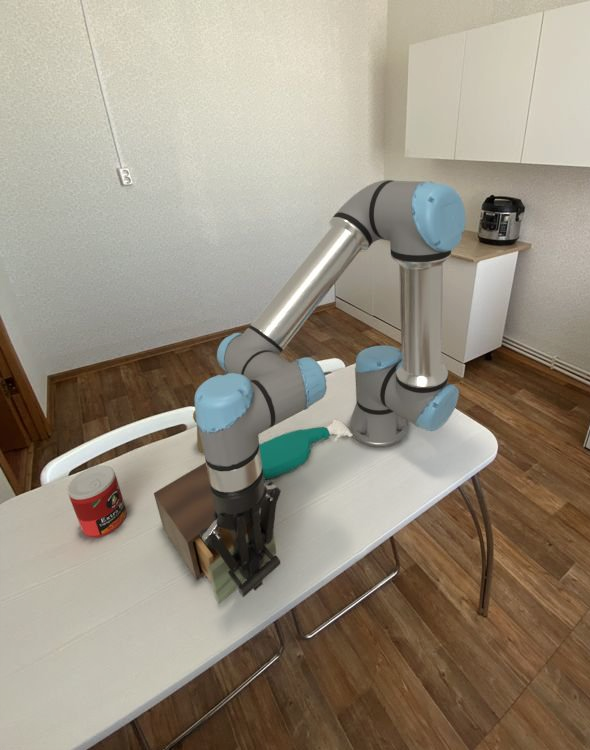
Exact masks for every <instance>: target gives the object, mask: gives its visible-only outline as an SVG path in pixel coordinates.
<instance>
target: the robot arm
mask: <svg viewBox="0 0 590 750" xmlns="http://www.w3.org/2000/svg"><path fill="white" fill-rule="evenodd" d="M465 229H466V209H465V205H464V202H463V199H462V197H461V196H460V194H459V193H458V192H457V191H456V189H455V188H453V187H452V186H450V185H448V184H446V183H436V182H433V181H417V180H415V181H414V180H392V179H391V180H390V179H384V180H378V181H375V182H373V183H371V184H369V185H367V186H365V187H363V188H362V189H361V190H359V191H358V192H356V193H355V194H353V195H352V197H350V198H349V199H348V200H347V201H346V202H345V203H344V204H343V205H341V207H340V208H339V209H338V210H337V211H336V212H335V213H334V214H333V216H332V217H331V218H330V220H329V228H328V230H327V231H326V232H325V234H324V235H323V236H322V238H321V239H319V241H318V242H317V243H316V245H315V246H314V247H313V248H312V250H311V251H310V252H309V253H308V254H307V255H306V257H305V258H304V259H303V261H302V262H301V263H300V264H299V265H298V267H297V268H296V269H295V270H294V271H293V272H292V274H291V275H290V276H289V277H288V278H287V280H286V281H285V282H284V283H283V285H282V286H281V287H280V288H279V289H278V291H277V292H276V293H275V295H273V297H272V298H271V299H270V301H268V303H267V304H266V305H265V307H264V308H262V310H261V311H260V313H259V314H258V315H257V316H256V318H254V320H253V321H252V322H251V324H250V325H249V326H248V327H247V328H246V330H245V331H244V332H243V333H242V332H234V333H232V334H230V335H229V336H226V337H225V338H224V339H223V340H222V341H220V344H219V346H218V348H217V352H216V360H217V362H218V363H217V364H218V365H219V366H220V368H221V369H222V370H223V371H225V373H226V374H224V375H223V374H217V375H214V376H212V377H210V378H208V379H206V380H205V381H203V382H202V383H201V384H200V385H199V387H198V388H197V389H196V391H195V393H194V411H195V412H196V422H195V423H196V426H197V425H198V428H199V433H200V437H201V441H202V446H203V450H204V453H203V455H204V461H205V462H206V467H207V472H208V477H209V482H210V488H211V493H212V498H213V503H214V507H215V512H214V515H213V520H214V522H213V523H212V524H211V526H210V527H209V529H207V528H204V529H203V530H202V531H201V532H200V536H201V538H202V539H203V541H204V542H205V543H206V545H207V546H208V547H210V548H214V549H216V550H217V552H218V553H219V555H220V556H221V557H222V559H223V560H224V562H225V563H226V564H227V566H228V567H229V569H230V570H231V571H232V572H233V573H234V572H236V571H237V570H238V568H239V572H240V574H241V575H242V576H243V578H245V579H246V580H247V579H249V578H250V577H251V576H252V575H253V574H254V573H255V572H257V571H258V570H259V569H260V568H261V567H260V565H262V564H263V561H264V559H263V557H264V556H265V554H266V551H265V550H264V549H263V547H264V545H265V544H269V543H270V542H271V541H272V536H273V532H274V527H275V518H276V511H277V504H278V500H279V498H280V495H281V492H282V491H281V489H280V488H279V487H278V486H277V485H275V483H274V482H272V481H269V482H267V484H266V485H265V479H264V476H263V469H262V461H261V454H260V447H259V445H260V440H259V439H260V438H259V436H260V434H262V433H264V432H266V431H267V430H269V429H271V428H273V427H274V426H276V425H279V424H280V423H282V422H284V421H287V419H289V418H291V417H293V416H295V415H297V414H300V413H301V412H303V411H305V410H308V409H309V408H310V407H311V406H313V405H314V404H317V403H318V402H319V401H321V400H322V399H324V397H325V395H326V393H327V388H328V387H327V378H326V375H325V373H324V370H323V368H322V367H321V365H320V364H319V363H318V362H317V361H316V360H315V359H314V358H311V357H309V356H308V357H307V356H306V357H305V356H304V357H301V358H297V359H294V360H293V361H291V362H290V361H288V360H287V359H285V358H283V357H281V356H280V355H281V354H282V352H283V351H284V350H285V348H287V346H288V344H289V343H290V342H291V340H292V339H293V338H294V337H295V335H296V334H297V333H298V331H300V329H301V327H302V326H303V325H304V324H305V323H306V321H307V320H308V319H309V317H310V316H311V315H312V314H313V312H314V311H315V310H316V308H317V307H318V306H319V304H320V303H321V302H322V300H323V299H324V298H325V296H326V295H327V294H328V293H329V291H331V289H332V287H333V286H334V285H335V284H336V283H337V281H338V280H339V279H340V277H341V276H342V275H343V273H344V272H345V271H346V270H347V268H348V267H349V266H350V264H351V263H352V262H353V261H354V259H355V258H356V257H357V256H358V255H359V253H362V252H363V253H364V252H366V251H368V249H369V248H370V247H371V246H372V245H373V243H375V242H377V241H379V240H384V241H388V242H390V243H389V245H390V247H389V248H390V249H389V250H390V257H391V258H392V260H393V261H394V262H396V263H397V264H398V279H399V281H398V282H399V307H400V308H399V309H400V310H399V313H400V335H401V336H400V337H401V338H400V339H401V341H400V342H401V350H400V348H397V347H395V346H391V345H375V346H370V347H367V348H365V349H363V350H361V351H360V352H358V354H357V356H356V359H355V367H354V375H355V397H356V403H355V406H354V409H353V412H352V414H351V417H350V422H349V428H350V429H349V430H350V432H351V433H352V437H353V438H354V439H355V440H356V441H357V442H359V443H360V444H363V445H365V446H367V447H372V448H387V447H391V446H394V445H396V444H398V443H399V442H401V441H402V440H403V439H404V438H405V436H406V434H407V432H408V422H410V423H411V424H413V425H414V426H415V427H417V428H421V429H423V430H424V431H427V432H436V431H437V430H439V429H441V428H442V427H443V426H444V425H445V424H446V423H447V422H448V420H449V419H450V418H451V416H452V414H453V413H454V411H455V409H456V406H457V405H458V401H459V395H460V393H459V389H458V387H457V386H456V385H455V384H453V383H450V382H449V370H448V367H447V365H446V364H445V363H444V362H443V361H442V352H443V351H442V348H443V347H442V345H443V343H442V342H443V282H444V281H443V280H444V277H443V276H444V263H445V262H446V261H447V260H448V259H449V258H450V257H451V255H452V250H454V249H455V248H457V247H458V245H459V244H460V243H461V241H462V239H463V234H464V232H465ZM205 462H204V463H205ZM245 525H246V527H245ZM221 527H222V528H225V529H229V530H230V531H231V537H232V542H233V548H234V552H233V554H234V555H233V556H232V555H231V553H230V552H229V550H228V549H227V547H226V546H225V544H224V543H223V542H222V540H221V536H220V535H221V532H220V528H221ZM246 529H247V535H248V540H249V545H250V546H251V548H250V546H249V547H248V548H247V542H246V536H245V533H246ZM262 585H263V580H262V581H261V582H260V583H259V584H258V585H257V586H256V587H255V588H253V589H252V590H253V591H255V592H256V591H257V590H258V589H259V588H260V587H261V586H262Z"/></svg>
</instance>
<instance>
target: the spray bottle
mask: <svg viewBox="0 0 590 750" xmlns="http://www.w3.org/2000/svg"><path fill="white" fill-rule="evenodd" d="M332 435H336V436H335V438H334V440H333V441H334V442H337V441H338V439H340V437H342V436H343V437H345V436H348V437H349V438H352V437H353V435H352V433H351V430H350V429H349V428H348V427H347V426H346V425H345V424H344V423H343V422H342V421H340V420H338V419H335V418H333V422H332V423H330V424H329V425H328V426H318V427H310V428H305V429H297V430H293V431H289V432H286V433H284V434H280V435H279V436H276V437H273V438H271V439H268V440H267V441H264V442H262V443H259V447H260V454H261V461H262V469H263V476H264V480H268V479H272V478H275V477H277V476H280V475H282V474H285V473H288V472H290V471H292V470H294V469H297V468H298V467H300V466H301V465H303V464H305V463H306V461H308V459H309V457H310V455H311V447H312V444H316V442H320V441H322V440H323V439H329V438H330V436H332Z"/></svg>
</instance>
